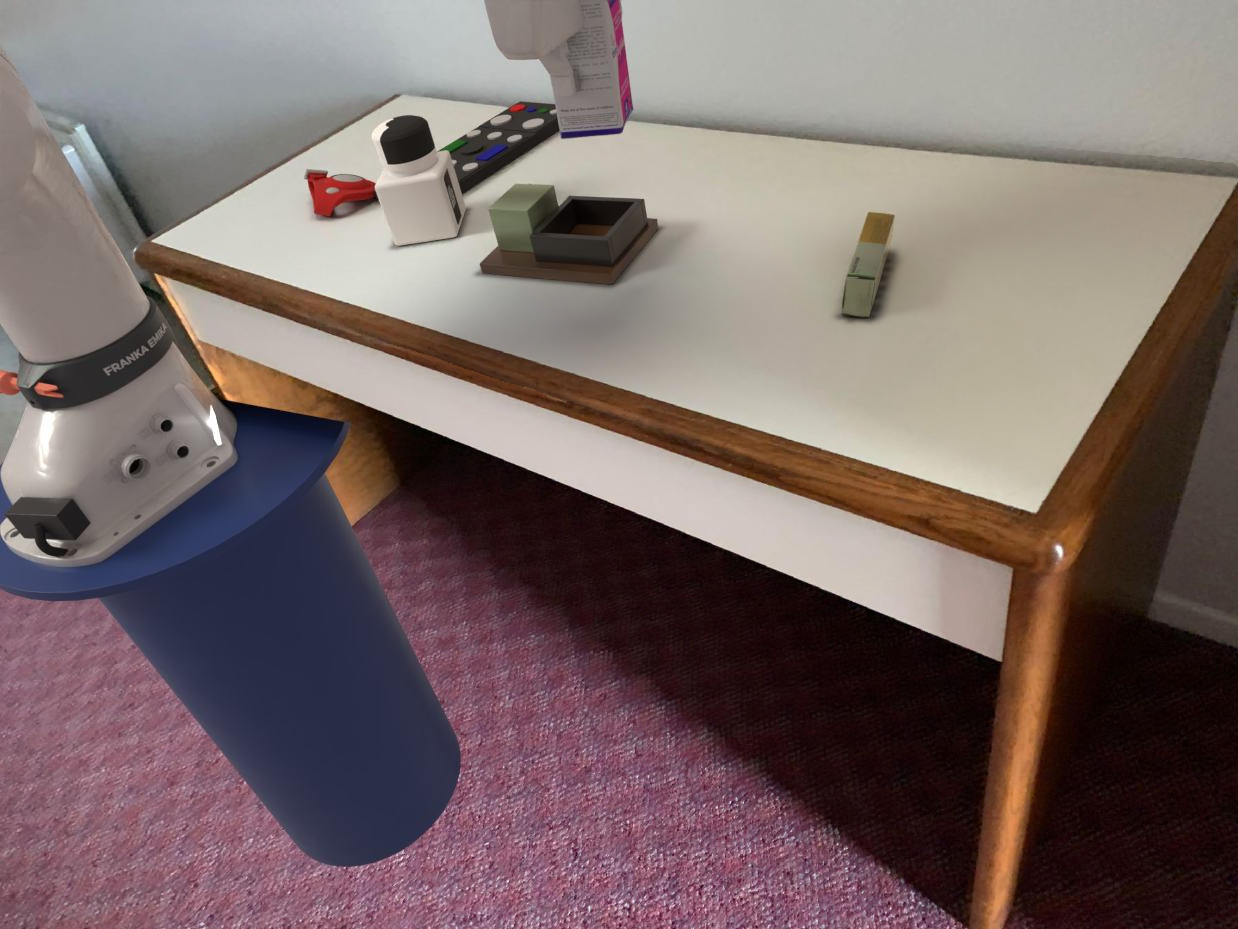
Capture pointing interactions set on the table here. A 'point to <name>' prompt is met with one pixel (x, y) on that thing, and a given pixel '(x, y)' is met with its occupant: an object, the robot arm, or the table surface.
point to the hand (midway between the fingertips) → (589, 77)
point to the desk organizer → (565, 235)
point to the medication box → (867, 265)
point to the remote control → (500, 141)
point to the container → (416, 182)
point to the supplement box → (597, 75)
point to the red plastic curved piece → (336, 189)
